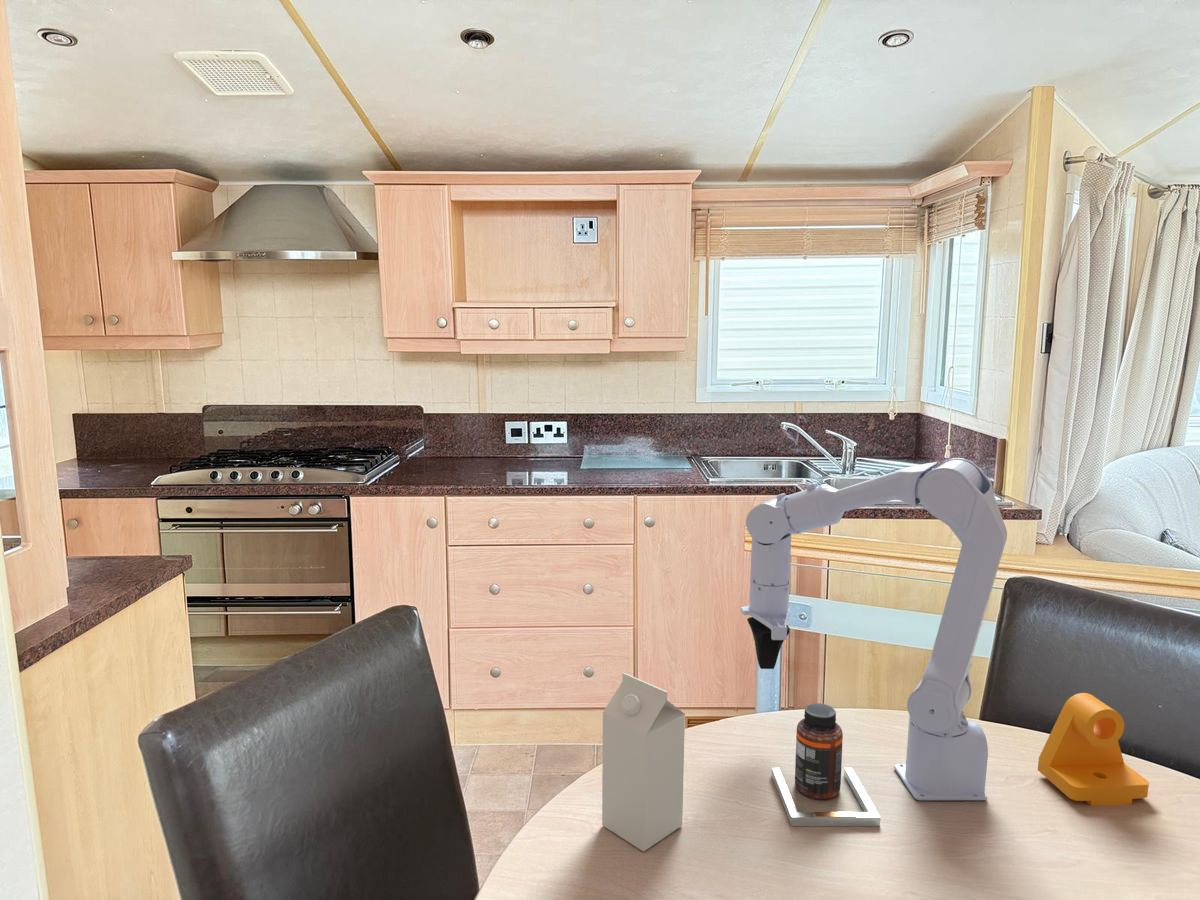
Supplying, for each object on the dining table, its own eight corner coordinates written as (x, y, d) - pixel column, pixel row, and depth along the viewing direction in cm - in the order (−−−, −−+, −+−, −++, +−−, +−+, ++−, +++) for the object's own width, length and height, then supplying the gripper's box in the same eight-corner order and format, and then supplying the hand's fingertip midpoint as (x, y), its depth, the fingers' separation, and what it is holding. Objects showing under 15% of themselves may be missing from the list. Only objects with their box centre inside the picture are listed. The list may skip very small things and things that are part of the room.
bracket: (1072, 807, 102) (1081, 720, 100) (1037, 775, 109) (1045, 694, 107) (1150, 803, 102) (1161, 717, 100) (1110, 772, 109) (1119, 691, 108)
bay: (851, 775, 108) (851, 767, 108) (879, 826, 97) (880, 816, 97) (771, 775, 108) (771, 767, 108) (791, 826, 97) (791, 816, 97)
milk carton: (640, 802, 102) (642, 664, 99) (682, 827, 97) (686, 682, 94) (601, 826, 97) (602, 681, 94) (644, 853, 92) (646, 701, 89)
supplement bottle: (835, 777, 108) (840, 700, 106) (844, 803, 102) (849, 722, 100) (791, 774, 108) (794, 697, 107) (797, 800, 103) (801, 719, 101)
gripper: (734, 565, 123) (731, 647, 125) (752, 597, 109) (749, 688, 111) (779, 565, 123) (775, 647, 125) (803, 597, 109) (799, 689, 111)
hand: (766, 667), depth 118 cm, fingers closed
